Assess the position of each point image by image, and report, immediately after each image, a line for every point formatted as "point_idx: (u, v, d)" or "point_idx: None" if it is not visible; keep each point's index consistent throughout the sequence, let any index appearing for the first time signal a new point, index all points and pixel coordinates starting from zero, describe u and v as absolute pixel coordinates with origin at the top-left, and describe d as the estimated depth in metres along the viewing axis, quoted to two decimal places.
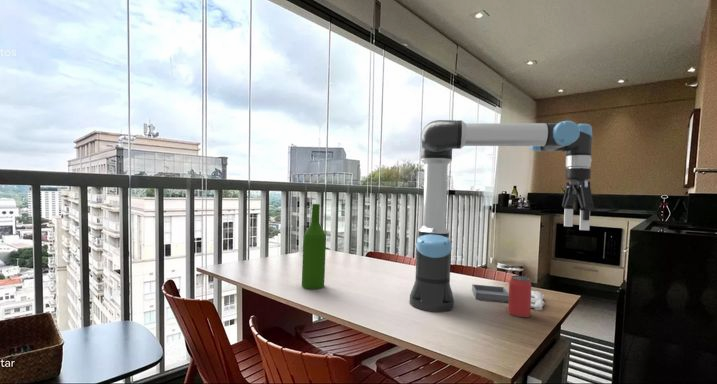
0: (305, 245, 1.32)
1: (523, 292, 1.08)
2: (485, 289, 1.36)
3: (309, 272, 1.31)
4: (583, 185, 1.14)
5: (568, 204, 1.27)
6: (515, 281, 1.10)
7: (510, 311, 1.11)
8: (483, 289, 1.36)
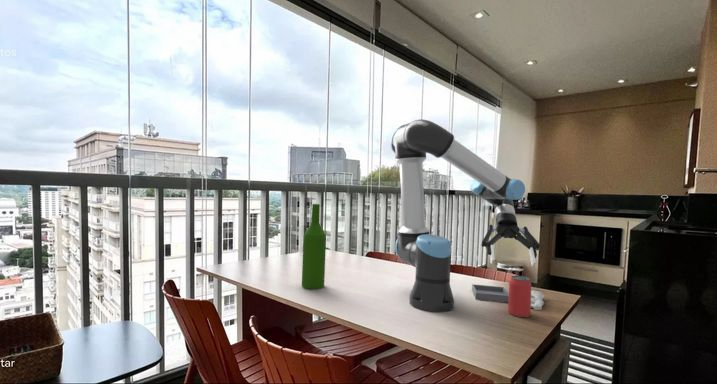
0: (305, 245, 1.32)
1: (523, 292, 1.08)
2: (485, 289, 1.36)
3: (309, 272, 1.31)
4: None
5: (493, 242, 1.28)
6: (515, 281, 1.10)
7: (510, 311, 1.11)
8: (483, 289, 1.36)
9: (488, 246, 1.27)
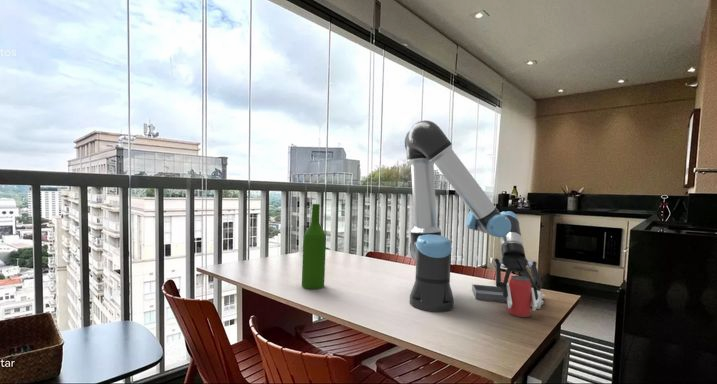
0: (305, 245, 1.32)
1: (523, 292, 1.08)
2: (485, 289, 1.36)
3: (309, 272, 1.31)
4: None
5: (507, 281, 1.14)
6: (515, 281, 1.10)
7: (510, 311, 1.11)
8: (483, 289, 1.36)
9: (504, 287, 1.13)
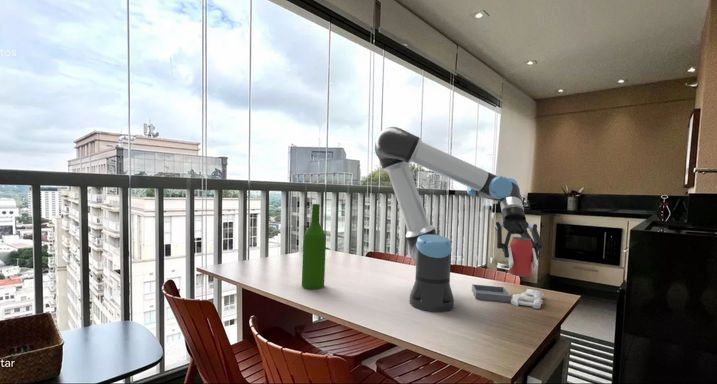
0: (305, 245, 1.32)
1: (524, 251, 1.08)
2: (485, 289, 1.36)
3: (309, 272, 1.31)
4: (536, 228, 1.17)
5: (508, 242, 1.15)
6: (516, 241, 1.10)
7: (511, 271, 1.11)
8: (483, 289, 1.36)
9: (505, 248, 1.13)
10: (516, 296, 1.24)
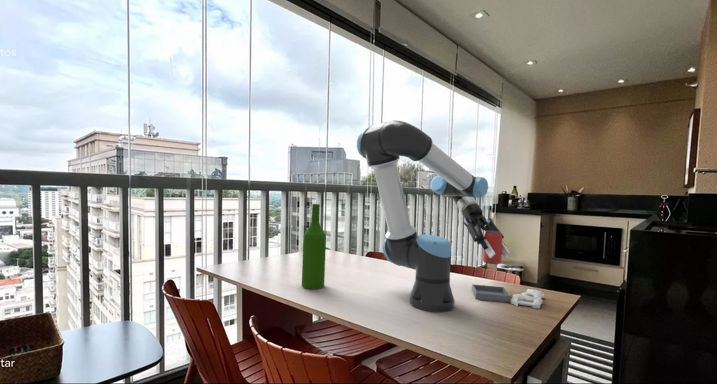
0: (305, 245, 1.32)
1: (500, 243, 1.27)
2: (485, 289, 1.36)
3: (309, 272, 1.31)
4: None
5: None
6: (493, 234, 1.27)
7: (489, 261, 1.27)
8: (483, 289, 1.36)
9: (483, 241, 1.28)
10: (516, 296, 1.25)
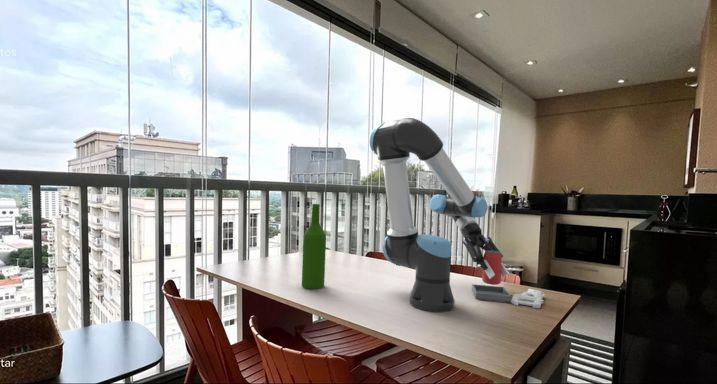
0: (305, 245, 1.32)
1: (499, 263, 1.28)
2: (485, 289, 1.36)
3: (309, 272, 1.31)
4: None
5: None
6: (493, 255, 1.28)
7: (488, 281, 1.28)
8: (483, 289, 1.36)
9: (482, 261, 1.29)
10: (516, 296, 1.25)
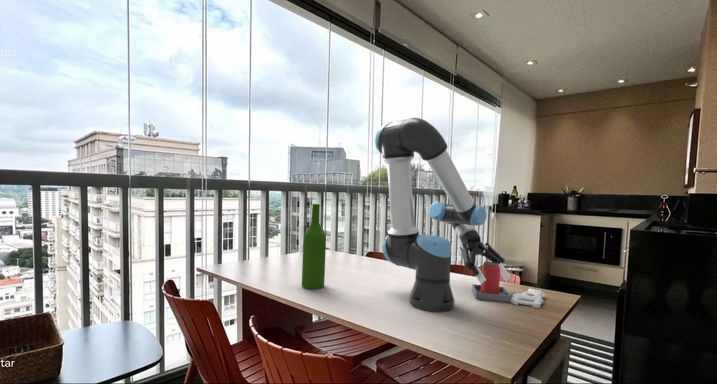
0: (305, 245, 1.32)
1: (498, 275, 1.27)
2: None
3: (309, 272, 1.31)
4: None
5: None
6: (492, 267, 1.27)
7: None
8: None
9: (473, 267, 1.28)
10: (516, 295, 1.26)
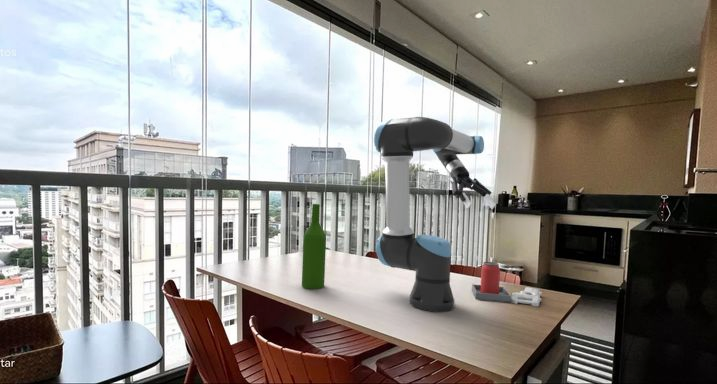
0: (305, 245, 1.32)
1: (497, 275, 1.27)
2: None
3: (309, 272, 1.31)
4: None
5: None
6: (491, 267, 1.27)
7: None
8: None
9: (461, 194, 1.42)
10: (515, 294, 1.27)
